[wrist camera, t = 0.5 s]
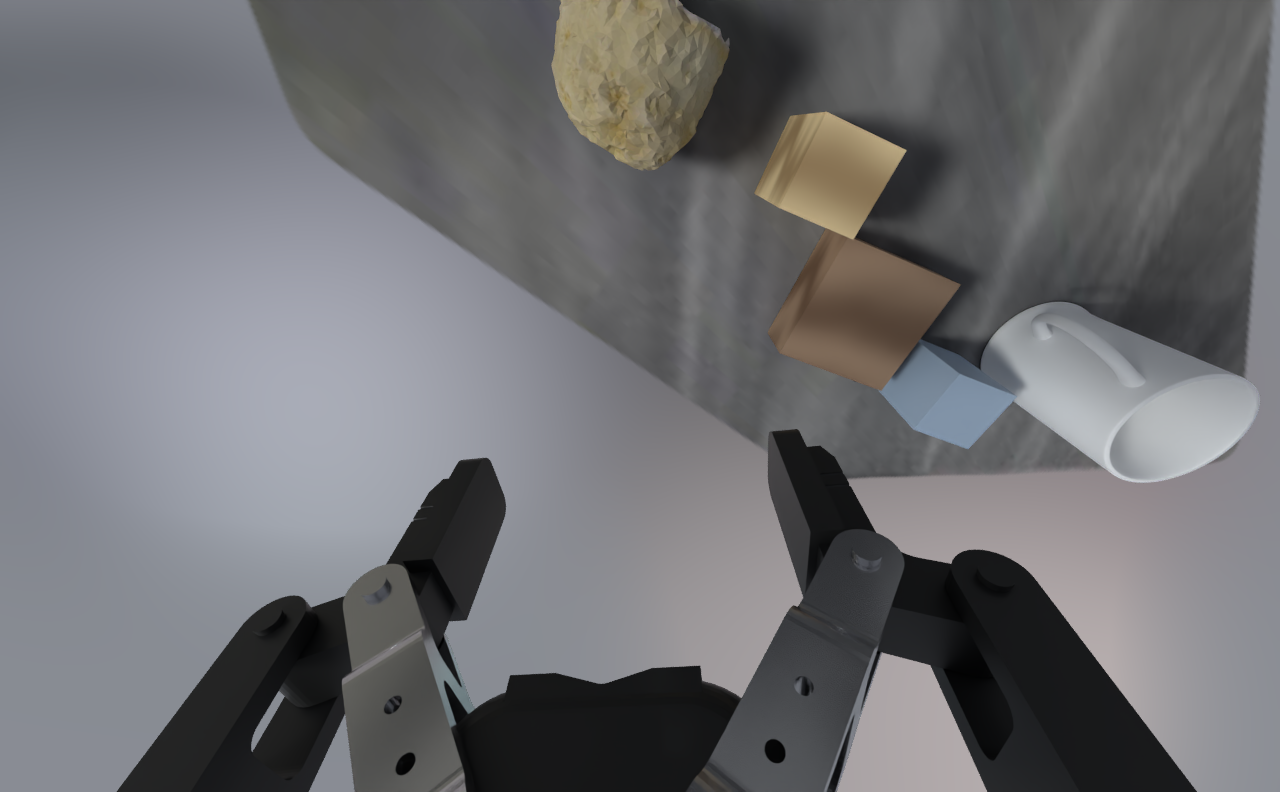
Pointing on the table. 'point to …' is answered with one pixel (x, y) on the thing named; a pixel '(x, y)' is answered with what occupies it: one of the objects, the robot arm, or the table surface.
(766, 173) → the oak block
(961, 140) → the table surface
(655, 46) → the coral
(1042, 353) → the mug
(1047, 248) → the table surface
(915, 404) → the slate block
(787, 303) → the walnut slab
